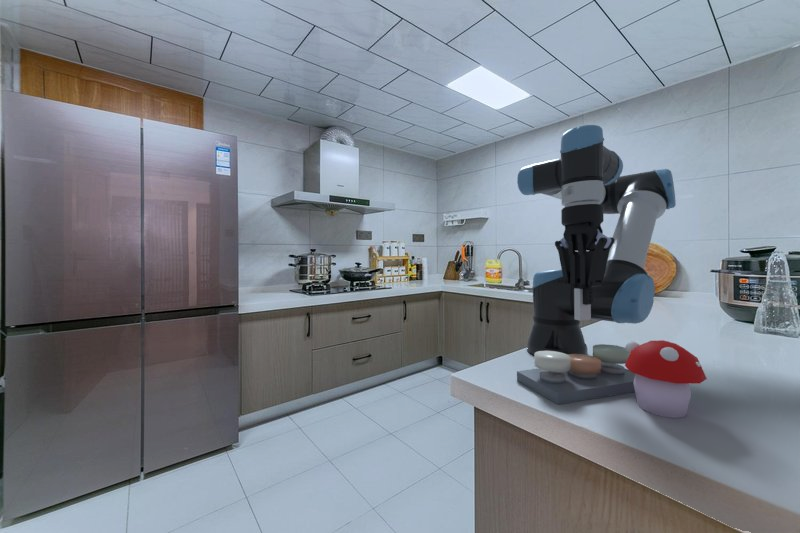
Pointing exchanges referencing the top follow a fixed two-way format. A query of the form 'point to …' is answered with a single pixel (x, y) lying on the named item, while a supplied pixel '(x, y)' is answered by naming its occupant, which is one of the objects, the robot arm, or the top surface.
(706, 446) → the top surface
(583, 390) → the button board
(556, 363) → the white flat dome
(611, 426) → the top surface
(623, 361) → the sage cap
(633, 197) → the robot arm
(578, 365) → the terracotta cap
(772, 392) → the top surface
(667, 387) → the mushroom
